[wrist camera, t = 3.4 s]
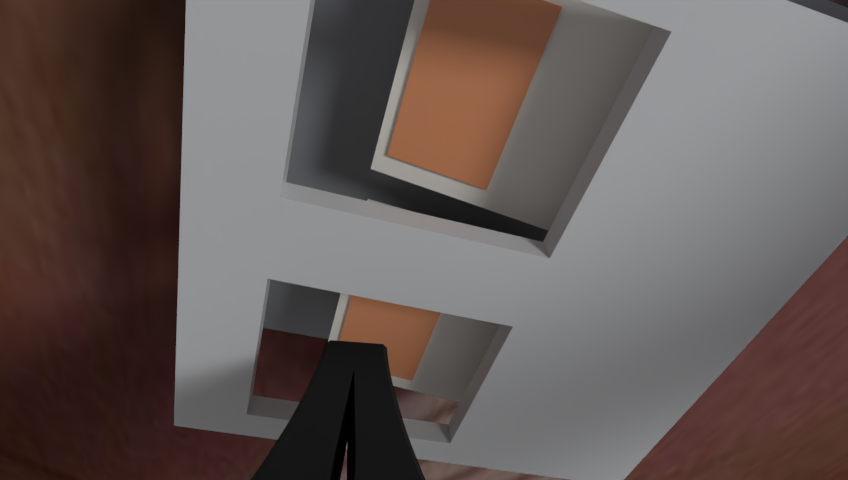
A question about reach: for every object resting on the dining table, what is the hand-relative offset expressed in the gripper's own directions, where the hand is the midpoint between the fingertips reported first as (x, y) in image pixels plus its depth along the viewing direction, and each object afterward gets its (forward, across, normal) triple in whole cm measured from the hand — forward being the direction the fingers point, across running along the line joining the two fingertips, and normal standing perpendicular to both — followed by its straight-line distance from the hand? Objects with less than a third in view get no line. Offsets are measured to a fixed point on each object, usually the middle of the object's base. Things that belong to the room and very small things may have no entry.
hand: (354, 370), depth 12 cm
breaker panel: (+7, -3, -3) cm, 8 cm away
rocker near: (+3, -4, -6) cm, 8 cm away
